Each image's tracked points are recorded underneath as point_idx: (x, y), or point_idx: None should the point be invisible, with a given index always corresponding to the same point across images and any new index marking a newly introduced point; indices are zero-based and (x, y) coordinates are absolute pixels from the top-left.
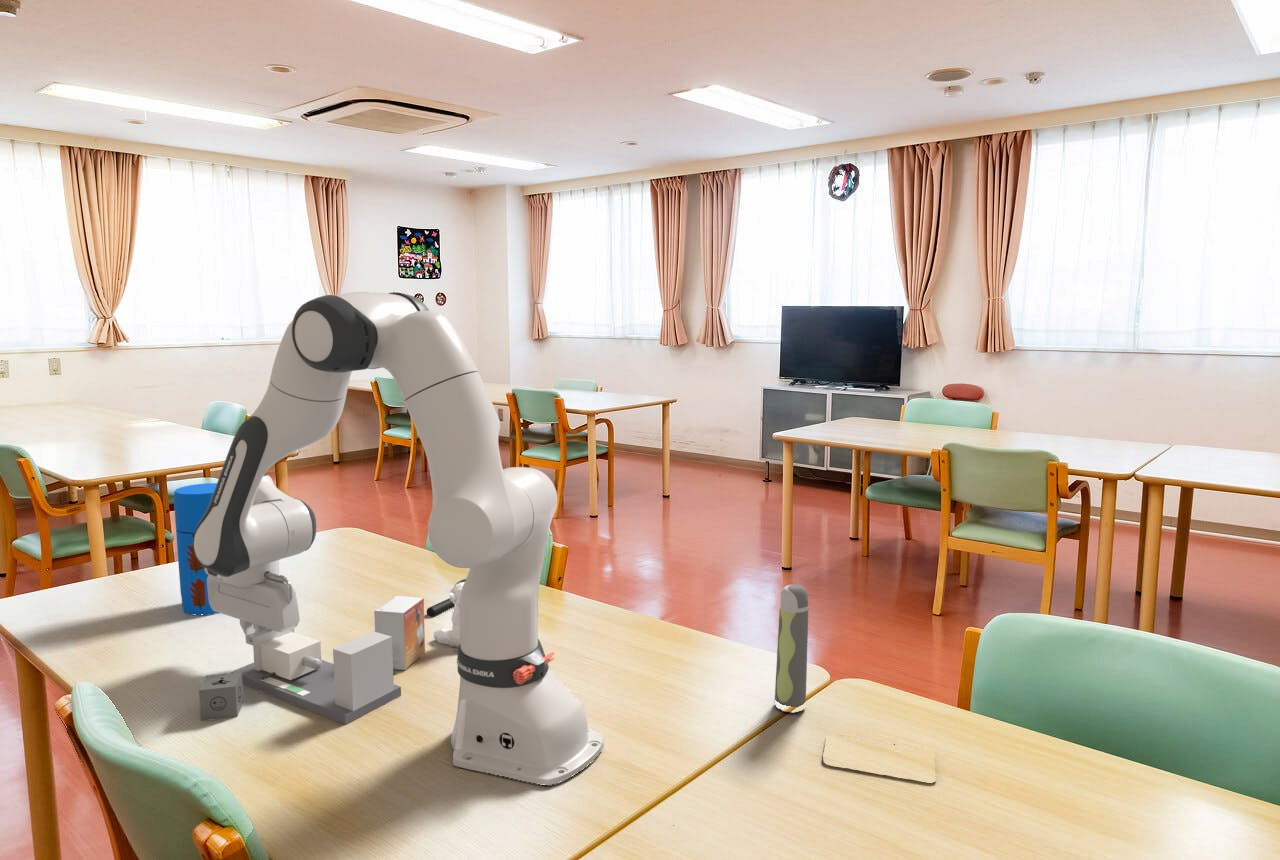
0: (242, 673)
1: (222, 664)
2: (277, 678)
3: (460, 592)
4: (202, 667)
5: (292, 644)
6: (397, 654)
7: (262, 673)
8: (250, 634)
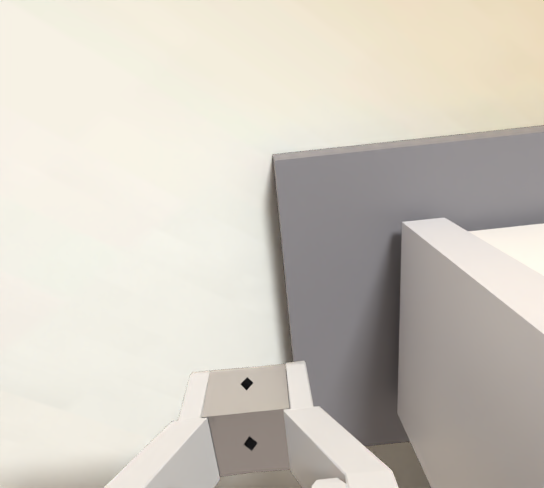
0: (361, 435)
1: (115, 382)
2: None
3: None
4: (88, 435)
5: None
6: None
7: None
8: (220, 460)
